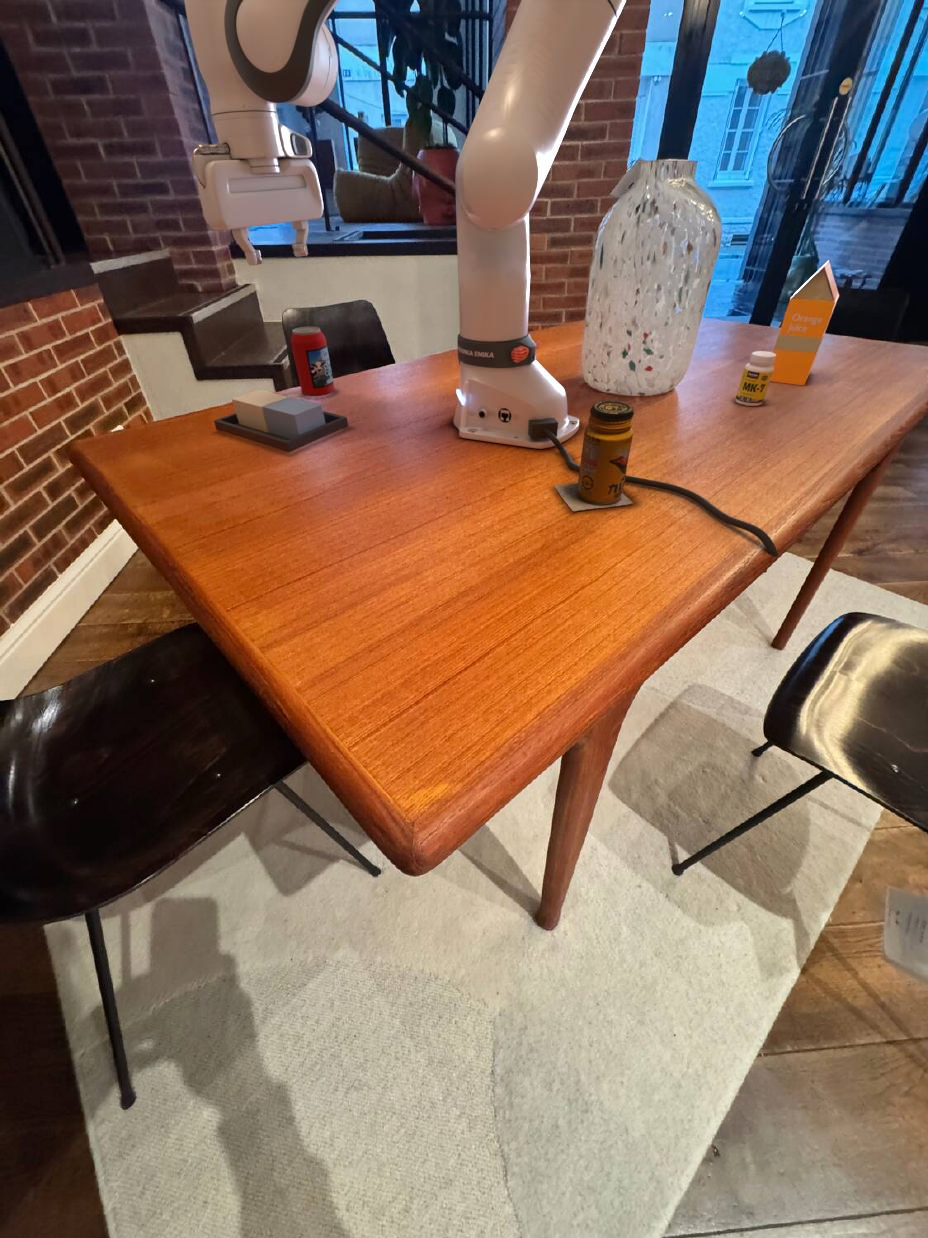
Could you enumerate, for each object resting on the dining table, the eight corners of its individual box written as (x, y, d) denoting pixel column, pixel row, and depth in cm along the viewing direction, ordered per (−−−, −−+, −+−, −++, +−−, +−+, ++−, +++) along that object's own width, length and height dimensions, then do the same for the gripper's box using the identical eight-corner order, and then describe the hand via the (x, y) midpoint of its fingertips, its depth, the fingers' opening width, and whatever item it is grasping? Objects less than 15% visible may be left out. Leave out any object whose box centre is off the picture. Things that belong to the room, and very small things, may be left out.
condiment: (632, 504, 70) (651, 413, 62) (572, 512, 68) (584, 420, 61) (610, 480, 75) (624, 394, 67) (554, 487, 74) (562, 400, 66)
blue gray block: (326, 430, 91) (321, 404, 88) (300, 442, 88) (294, 414, 85) (296, 422, 95) (290, 396, 92) (269, 432, 91) (262, 406, 88)
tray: (349, 428, 93) (347, 416, 92) (289, 455, 85) (286, 442, 84) (277, 409, 102) (274, 398, 101) (217, 432, 94) (213, 420, 93)
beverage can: (327, 399, 106) (315, 333, 98) (297, 398, 107) (282, 333, 99) (340, 389, 111) (329, 325, 103) (310, 387, 112) (297, 325, 104)
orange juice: (809, 374, 110) (853, 259, 97) (804, 385, 105) (850, 266, 92) (769, 369, 114) (806, 258, 101) (762, 380, 108) (800, 264, 95)
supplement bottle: (734, 404, 97) (749, 356, 92) (734, 397, 101) (749, 349, 95) (762, 407, 96) (779, 358, 90) (762, 399, 99) (778, 351, 94)
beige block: (294, 422, 95) (288, 396, 92) (267, 432, 91) (260, 406, 88) (265, 414, 99) (258, 389, 96) (239, 424, 95) (231, 398, 92)
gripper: (201, 141, 66) (237, 270, 75) (318, 140, 79) (338, 252, 88) (173, 145, 69) (211, 269, 78) (290, 144, 82) (312, 251, 91)
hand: (279, 260), depth 83 cm, fingers open, 8 cm apart
